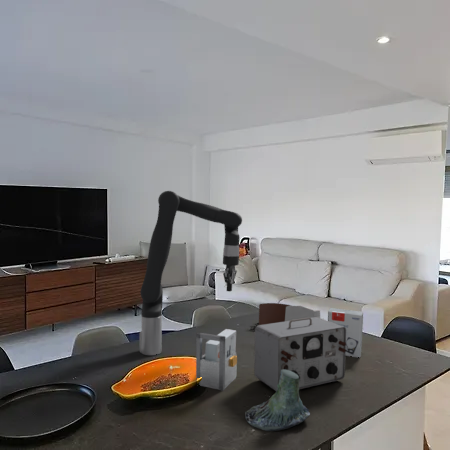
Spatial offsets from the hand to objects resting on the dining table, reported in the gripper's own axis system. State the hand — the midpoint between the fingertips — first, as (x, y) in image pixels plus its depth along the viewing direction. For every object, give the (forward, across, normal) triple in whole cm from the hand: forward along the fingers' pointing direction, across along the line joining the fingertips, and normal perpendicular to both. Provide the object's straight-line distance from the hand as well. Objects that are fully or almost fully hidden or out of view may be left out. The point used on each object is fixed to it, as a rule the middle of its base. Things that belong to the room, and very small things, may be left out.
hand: (229, 291), depth 203 cm
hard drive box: (+26, -16, +53) cm, 61 cm away
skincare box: (+29, +28, +8) cm, 41 cm away
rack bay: (+29, +34, +9) cm, 46 cm away
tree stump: (+29, +54, +37) cm, 72 cm away
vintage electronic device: (+28, +24, +40) cm, 54 cm away
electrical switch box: (+26, -24, +33) cm, 48 cm away
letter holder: (+26, -47, +14) cm, 56 cm away
